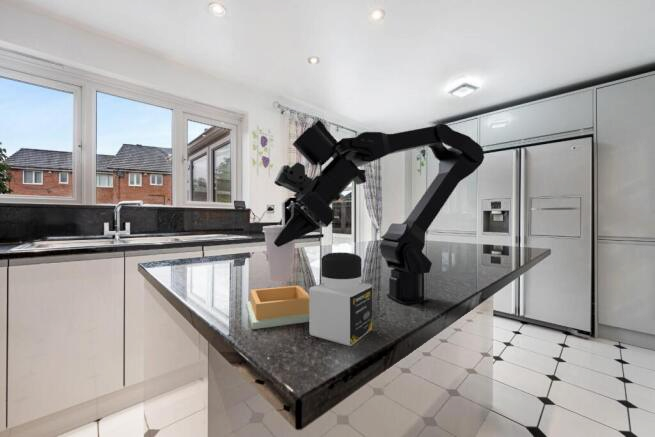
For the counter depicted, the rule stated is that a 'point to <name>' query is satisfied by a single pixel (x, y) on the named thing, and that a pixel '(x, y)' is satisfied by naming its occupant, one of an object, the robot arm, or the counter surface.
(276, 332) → the counter surface
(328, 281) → the medicine bottle
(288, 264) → the smoothie
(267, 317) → the box
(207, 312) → the counter surface
